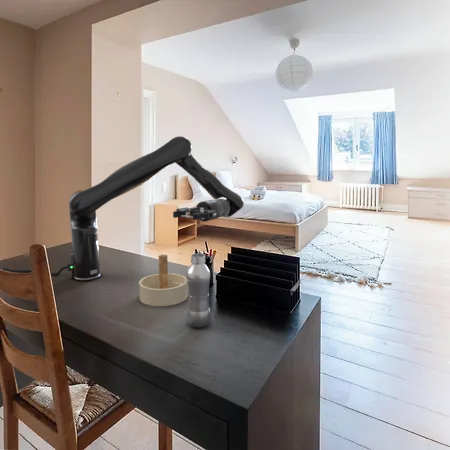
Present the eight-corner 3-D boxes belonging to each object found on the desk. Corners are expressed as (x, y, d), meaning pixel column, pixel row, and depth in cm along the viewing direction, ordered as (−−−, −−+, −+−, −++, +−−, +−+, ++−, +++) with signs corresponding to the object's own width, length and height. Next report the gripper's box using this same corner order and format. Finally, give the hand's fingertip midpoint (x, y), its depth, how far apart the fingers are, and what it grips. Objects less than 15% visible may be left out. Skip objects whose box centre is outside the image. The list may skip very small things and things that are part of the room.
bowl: (131, 305, 110) (130, 287, 109) (150, 288, 125) (150, 271, 124) (179, 310, 107) (179, 291, 106) (193, 291, 122) (192, 274, 121)
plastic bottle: (207, 331, 94) (207, 259, 90) (183, 328, 95) (182, 257, 92) (213, 320, 100) (213, 252, 97) (190, 318, 102) (189, 251, 98)
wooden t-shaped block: (155, 296, 116) (154, 255, 114) (160, 293, 118) (159, 253, 116) (167, 299, 114) (166, 257, 111) (172, 296, 116) (171, 255, 113)
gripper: (194, 199, 137) (167, 203, 123) (226, 201, 130) (200, 206, 116) (194, 218, 139) (167, 224, 125) (225, 221, 131) (200, 228, 118)
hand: (183, 215), depth 121 cm, fingers open, 8 cm apart
